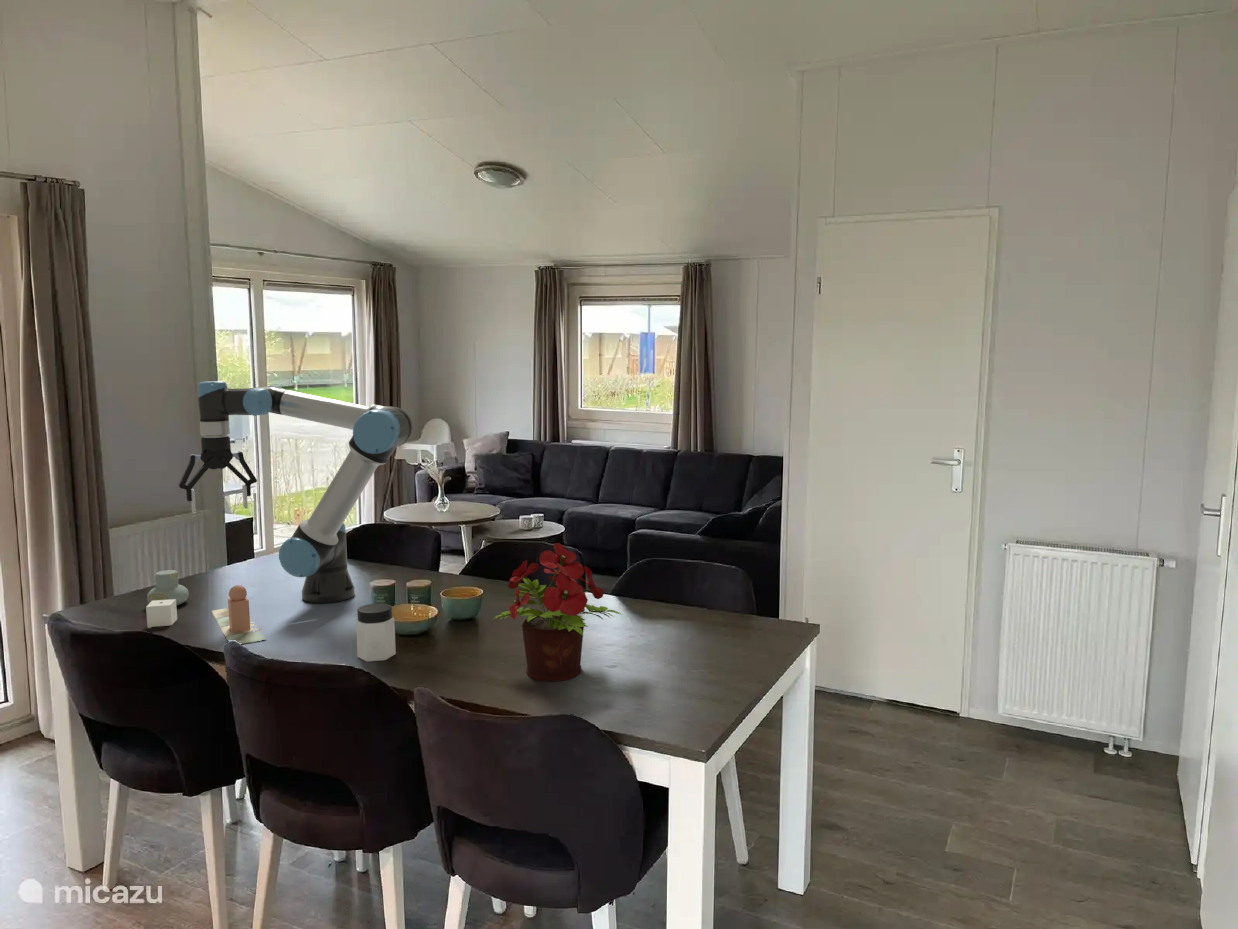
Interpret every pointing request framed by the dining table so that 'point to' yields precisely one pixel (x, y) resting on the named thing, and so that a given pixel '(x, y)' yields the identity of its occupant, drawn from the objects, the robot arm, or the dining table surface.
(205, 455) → the robot arm
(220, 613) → the track
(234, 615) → the orange-brown peg figure
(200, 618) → the dining table surface
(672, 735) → the dining table surface
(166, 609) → the die
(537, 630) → the potted plant
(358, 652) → the jar
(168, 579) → the air freshener
